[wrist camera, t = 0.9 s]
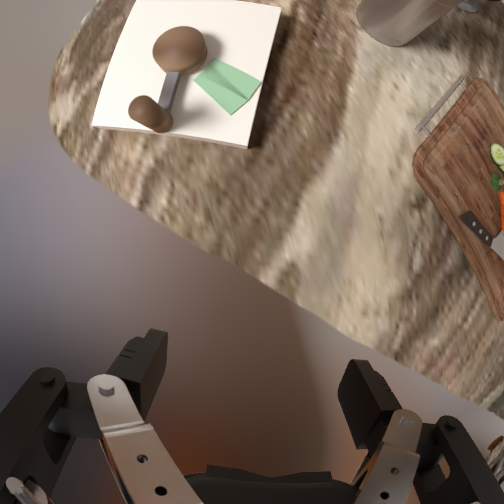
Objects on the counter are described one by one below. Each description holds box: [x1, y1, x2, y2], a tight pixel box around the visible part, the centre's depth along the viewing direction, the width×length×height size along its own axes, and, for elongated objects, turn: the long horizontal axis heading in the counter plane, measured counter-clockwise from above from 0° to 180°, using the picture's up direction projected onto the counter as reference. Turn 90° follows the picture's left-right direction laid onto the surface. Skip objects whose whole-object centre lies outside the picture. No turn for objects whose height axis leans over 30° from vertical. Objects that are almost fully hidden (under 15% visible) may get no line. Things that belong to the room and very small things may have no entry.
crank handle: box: [128, 26, 207, 133], centre depth 25 cm, size 13×6×7 cm, turn 168°
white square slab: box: [92, 0, 282, 149], centre depth 29 cm, size 20×20×3 cm
